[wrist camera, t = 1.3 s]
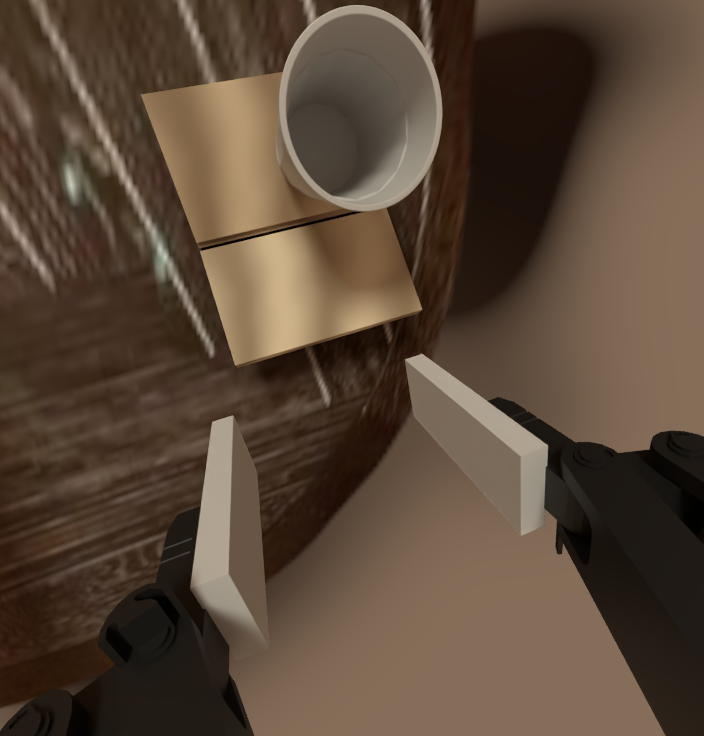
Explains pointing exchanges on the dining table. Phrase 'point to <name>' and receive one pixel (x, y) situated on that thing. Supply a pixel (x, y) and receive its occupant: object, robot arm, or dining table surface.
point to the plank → (309, 285)
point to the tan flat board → (229, 159)
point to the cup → (358, 110)
